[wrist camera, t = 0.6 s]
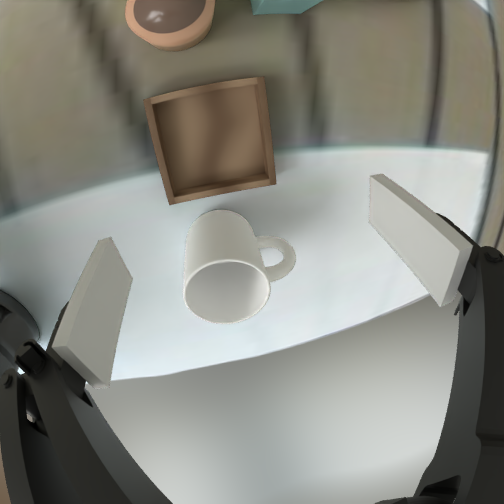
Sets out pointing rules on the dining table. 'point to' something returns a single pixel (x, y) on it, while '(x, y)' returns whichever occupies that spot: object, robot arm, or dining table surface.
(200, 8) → the terracotta pot
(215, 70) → the dining table surface
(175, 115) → the walnut box
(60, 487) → the robot arm
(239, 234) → the mug
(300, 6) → the teal block
